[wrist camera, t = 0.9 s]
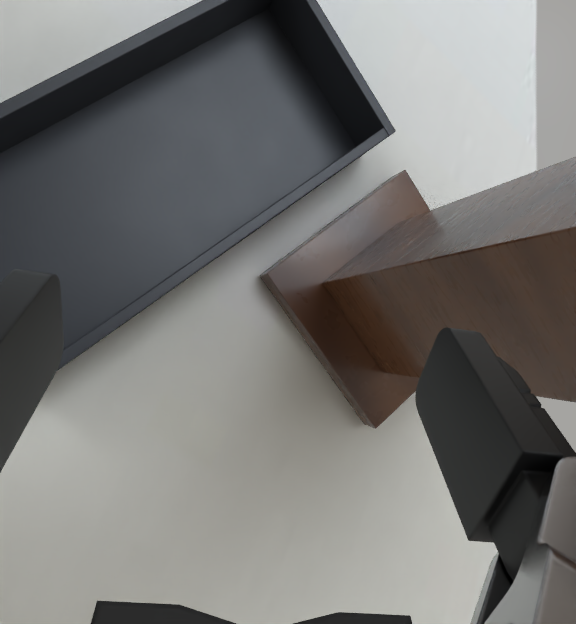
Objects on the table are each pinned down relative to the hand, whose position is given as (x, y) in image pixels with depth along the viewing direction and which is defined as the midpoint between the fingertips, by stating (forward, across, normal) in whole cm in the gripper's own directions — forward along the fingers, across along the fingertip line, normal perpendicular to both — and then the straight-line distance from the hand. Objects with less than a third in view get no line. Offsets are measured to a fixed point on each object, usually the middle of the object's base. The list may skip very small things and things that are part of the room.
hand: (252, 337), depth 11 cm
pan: (+20, +5, +4) cm, 21 cm away
